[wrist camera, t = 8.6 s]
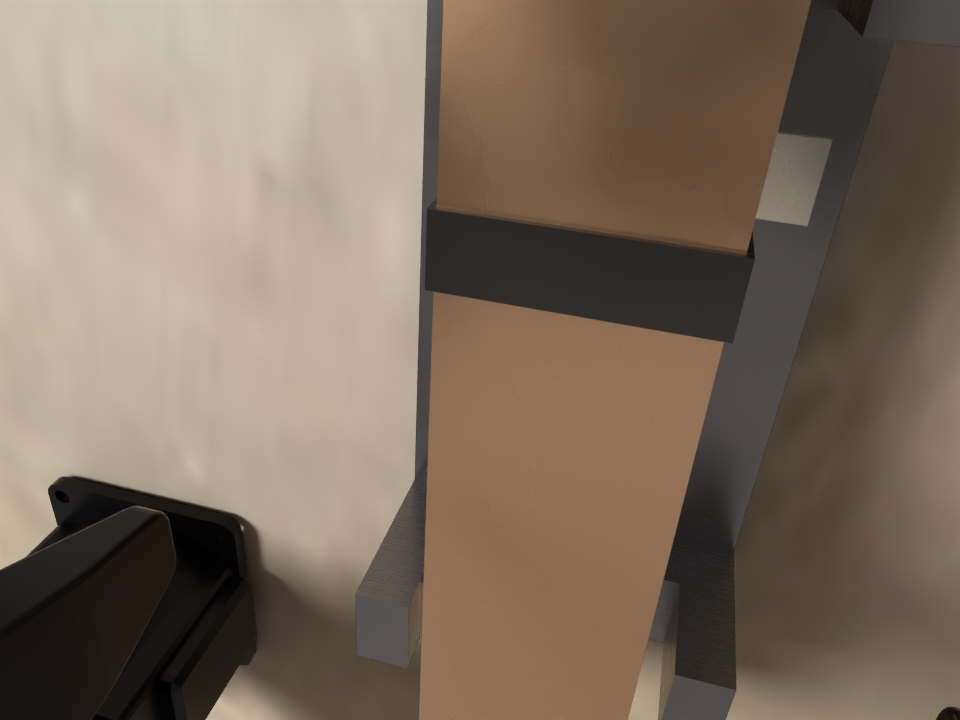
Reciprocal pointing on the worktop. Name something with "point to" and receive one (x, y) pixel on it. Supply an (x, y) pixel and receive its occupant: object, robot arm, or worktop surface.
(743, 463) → the collar stand
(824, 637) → the worktop surface
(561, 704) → the banded tan post
